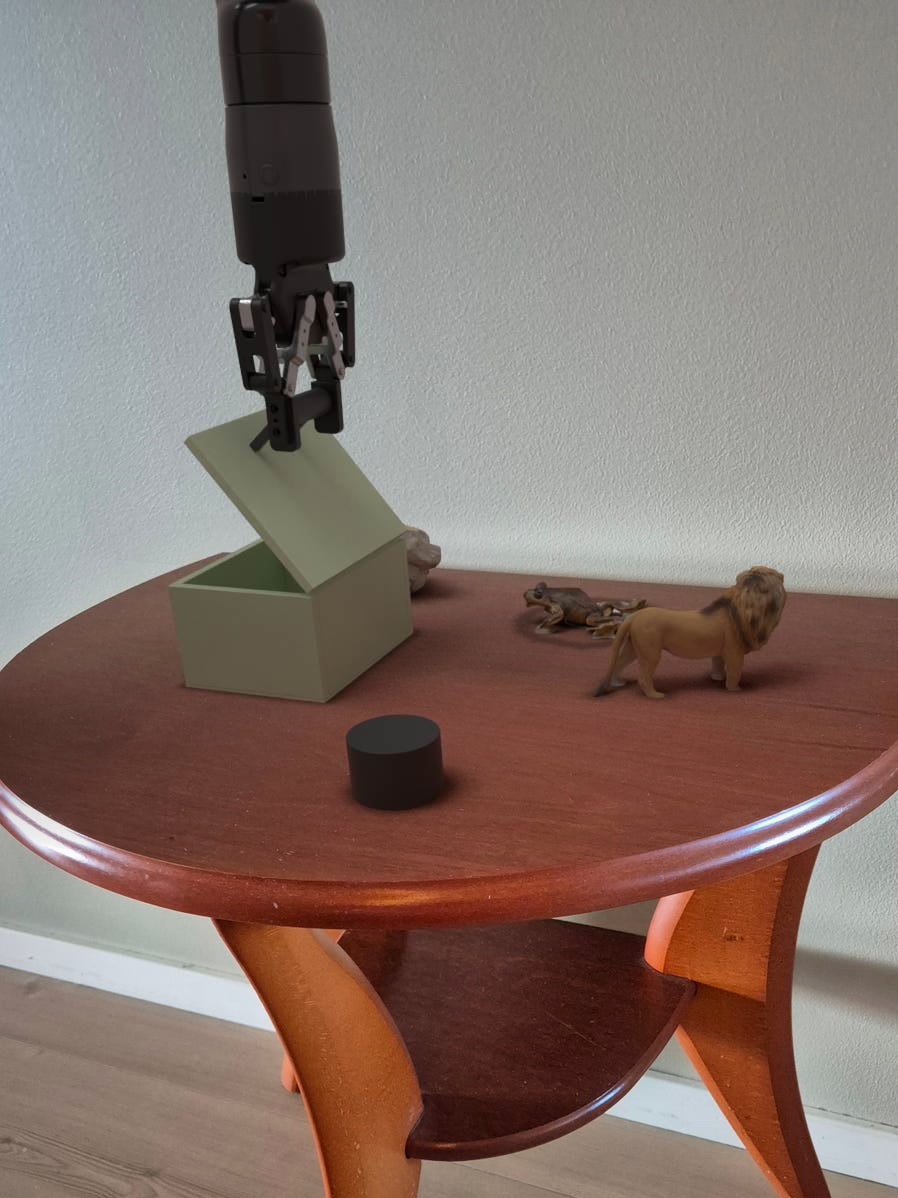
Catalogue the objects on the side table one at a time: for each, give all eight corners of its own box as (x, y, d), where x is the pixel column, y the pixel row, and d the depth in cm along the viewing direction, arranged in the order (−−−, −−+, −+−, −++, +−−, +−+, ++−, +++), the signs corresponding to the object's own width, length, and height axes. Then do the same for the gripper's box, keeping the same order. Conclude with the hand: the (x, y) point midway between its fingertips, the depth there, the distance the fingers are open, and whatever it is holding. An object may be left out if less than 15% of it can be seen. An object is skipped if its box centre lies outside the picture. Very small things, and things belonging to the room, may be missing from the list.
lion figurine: (763, 667, 93) (771, 554, 88) (792, 692, 88) (802, 574, 84) (583, 691, 91) (582, 576, 86) (603, 717, 86) (603, 597, 82)
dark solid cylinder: (336, 810, 76) (328, 747, 73) (378, 771, 80) (371, 709, 78) (421, 823, 73) (416, 758, 71) (459, 782, 78) (455, 719, 76)
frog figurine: (509, 652, 99) (507, 608, 97) (529, 605, 109) (528, 565, 107) (647, 654, 97) (648, 609, 95) (655, 606, 107) (656, 565, 105)
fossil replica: (357, 574, 121) (309, 613, 113) (339, 494, 116) (288, 529, 109) (464, 573, 116) (421, 614, 108) (450, 489, 111) (404, 526, 104)
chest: (187, 693, 94) (166, 585, 90) (288, 626, 107) (275, 529, 103) (325, 709, 90) (311, 597, 86) (414, 638, 103) (405, 537, 98)
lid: (183, 442, 83) (227, 389, 80) (296, 402, 96) (338, 355, 93) (307, 594, 86) (355, 549, 82) (402, 535, 98) (446, 494, 95)
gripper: (289, 183, 87) (310, 421, 95) (177, 188, 76) (212, 458, 84) (381, 181, 85) (394, 426, 93) (280, 186, 73) (305, 465, 82)
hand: (308, 440), depth 88 cm, fingers closed on lid, 6 cm apart
